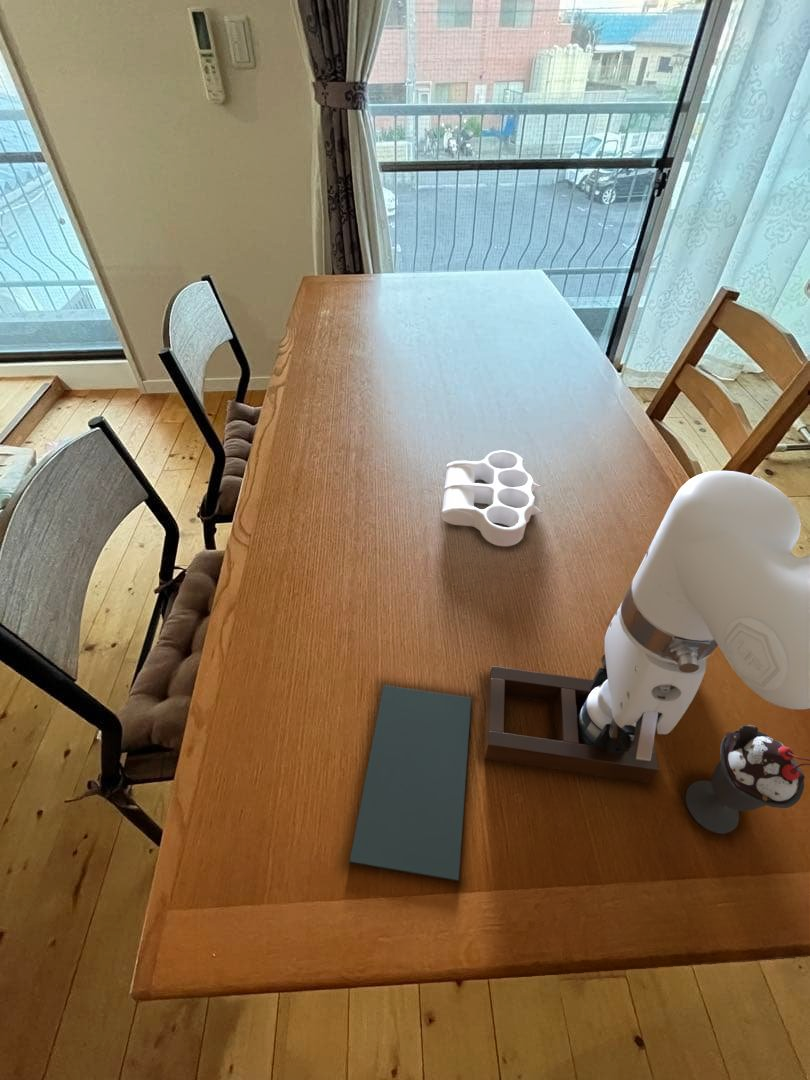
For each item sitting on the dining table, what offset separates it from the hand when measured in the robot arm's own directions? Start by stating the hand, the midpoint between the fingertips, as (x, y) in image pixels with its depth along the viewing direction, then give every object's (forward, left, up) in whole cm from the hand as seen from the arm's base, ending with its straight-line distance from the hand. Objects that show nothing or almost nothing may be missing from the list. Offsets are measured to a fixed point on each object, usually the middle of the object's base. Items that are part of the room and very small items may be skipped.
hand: (608, 717), depth 57 cm
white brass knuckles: (+35, +13, -4) cm, 37 cm away
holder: (0, +4, -4) cm, 5 cm away
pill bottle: (0, 0, -4) cm, 4 cm away
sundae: (-6, -11, -4) cm, 13 cm away
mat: (-7, +19, -4) cm, 20 cm away
